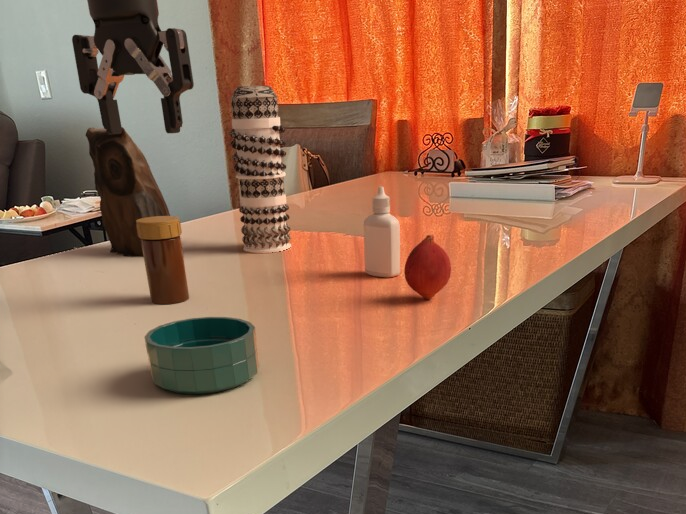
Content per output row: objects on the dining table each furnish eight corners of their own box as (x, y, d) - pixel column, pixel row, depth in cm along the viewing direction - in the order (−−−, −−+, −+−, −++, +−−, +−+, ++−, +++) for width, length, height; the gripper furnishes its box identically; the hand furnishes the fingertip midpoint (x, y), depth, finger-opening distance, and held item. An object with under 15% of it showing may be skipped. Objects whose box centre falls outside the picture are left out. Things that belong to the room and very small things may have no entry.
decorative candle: (276, 241, 131) (262, 86, 119) (303, 248, 125) (293, 84, 113) (231, 248, 126) (213, 87, 114) (258, 255, 120) (242, 86, 108)
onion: (402, 305, 89) (402, 238, 85) (406, 293, 94) (406, 230, 90) (449, 305, 88) (451, 238, 85) (450, 293, 93) (452, 229, 90)
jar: (147, 305, 93) (133, 226, 89) (155, 295, 98) (143, 220, 93) (185, 303, 93) (173, 225, 89) (192, 294, 98) (181, 219, 93)
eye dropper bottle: (373, 279, 102) (371, 189, 96) (362, 271, 106) (360, 185, 101) (402, 277, 103) (402, 187, 97) (390, 269, 107) (389, 183, 102)
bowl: (141, 399, 64) (132, 351, 62) (166, 361, 73) (158, 318, 71) (253, 395, 64) (247, 346, 62) (263, 358, 73) (259, 314, 71)
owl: (155, 257, 121) (133, 126, 112) (85, 258, 123) (58, 129, 113) (181, 243, 132) (163, 123, 123) (117, 244, 134) (94, 125, 124)
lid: (134, 240, 89) (131, 223, 88) (144, 233, 94) (141, 216, 93) (176, 238, 89) (174, 221, 88) (184, 231, 94) (182, 215, 93)
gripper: (40, -30, 77) (74, 136, 85) (154, -43, 73) (179, 134, 81) (85, -22, 83) (112, 133, 91) (191, -33, 79) (211, 130, 87)
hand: (143, 133), depth 86 cm, fingers open, 7 cm apart
